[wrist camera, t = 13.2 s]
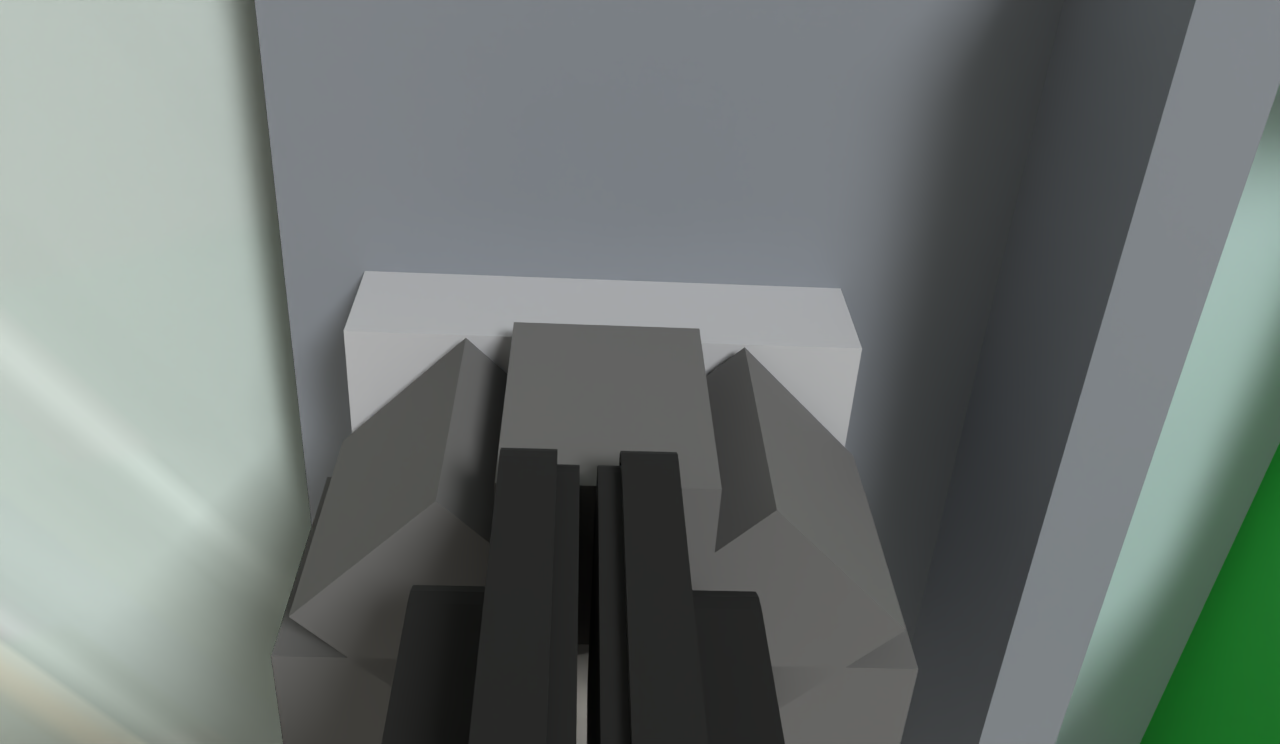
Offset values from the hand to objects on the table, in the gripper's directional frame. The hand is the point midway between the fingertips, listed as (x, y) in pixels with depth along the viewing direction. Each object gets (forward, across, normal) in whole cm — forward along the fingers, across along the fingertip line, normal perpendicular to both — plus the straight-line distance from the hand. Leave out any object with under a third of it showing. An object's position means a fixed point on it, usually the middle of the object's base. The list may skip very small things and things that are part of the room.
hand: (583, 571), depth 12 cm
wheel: (+3, 0, +2) cm, 4 cm away
